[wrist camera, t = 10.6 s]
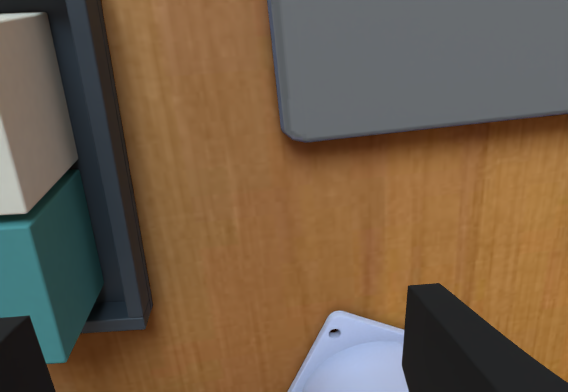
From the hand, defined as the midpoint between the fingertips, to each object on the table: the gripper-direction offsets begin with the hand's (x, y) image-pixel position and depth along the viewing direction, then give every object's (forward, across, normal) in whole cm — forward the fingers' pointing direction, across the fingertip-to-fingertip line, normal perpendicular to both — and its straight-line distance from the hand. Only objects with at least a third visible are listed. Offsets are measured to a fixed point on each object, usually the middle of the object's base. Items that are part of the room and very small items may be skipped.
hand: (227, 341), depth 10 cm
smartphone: (+10, -9, -5) cm, 14 cm away
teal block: (+10, +8, +2) cm, 12 cm away
